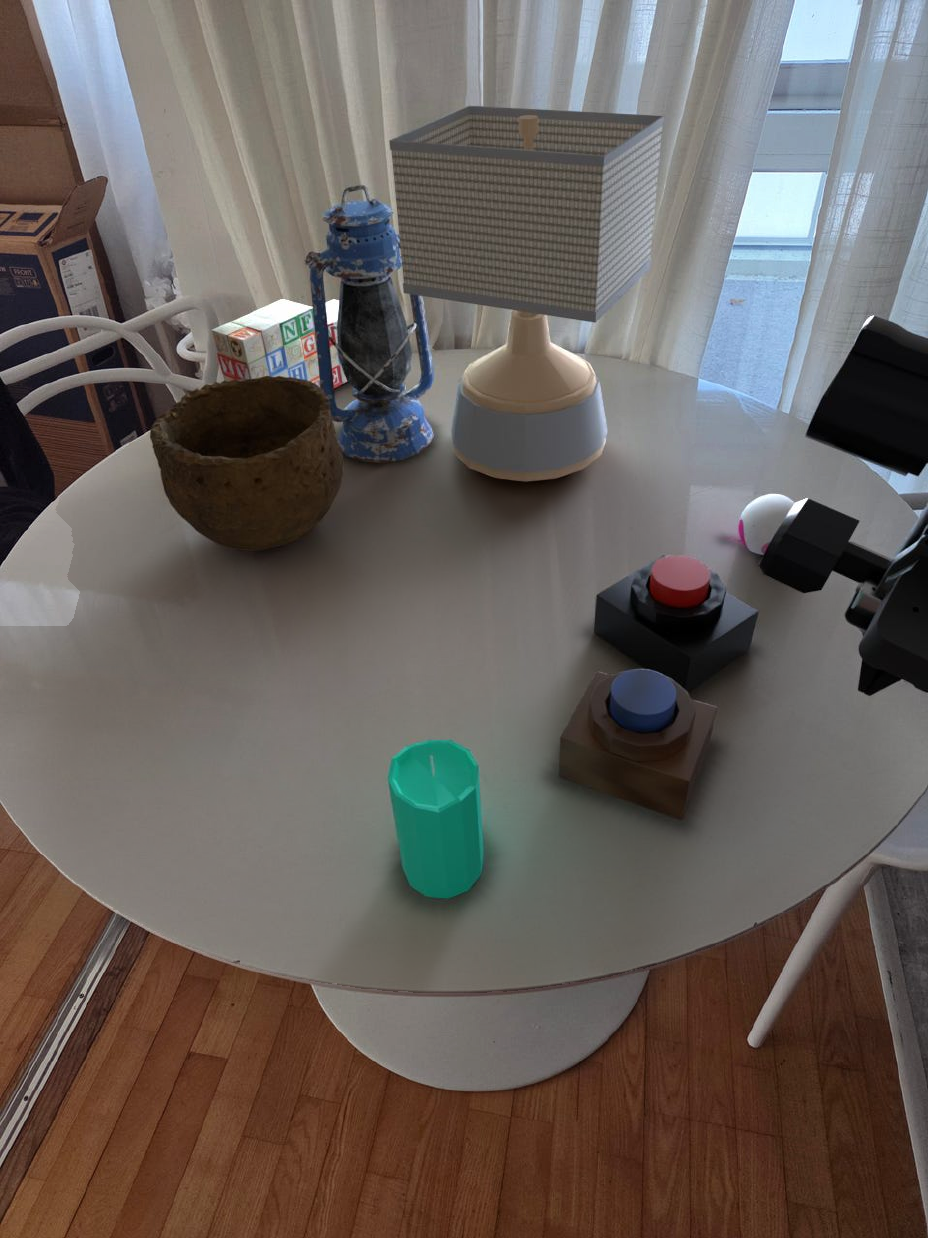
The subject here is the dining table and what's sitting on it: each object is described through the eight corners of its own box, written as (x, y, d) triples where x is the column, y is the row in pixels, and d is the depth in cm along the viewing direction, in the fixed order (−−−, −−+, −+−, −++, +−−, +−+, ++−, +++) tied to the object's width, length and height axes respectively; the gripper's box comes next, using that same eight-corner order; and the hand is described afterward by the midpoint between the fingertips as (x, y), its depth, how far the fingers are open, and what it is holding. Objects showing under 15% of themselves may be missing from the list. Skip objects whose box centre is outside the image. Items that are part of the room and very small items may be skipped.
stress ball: (747, 549, 95) (720, 499, 93) (819, 526, 90) (792, 473, 88) (733, 587, 89) (704, 535, 87) (809, 565, 84) (780, 510, 82)
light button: (719, 592, 75) (722, 573, 74) (680, 616, 73) (683, 598, 72) (675, 566, 78) (678, 547, 77) (637, 588, 76) (639, 570, 75)
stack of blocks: (343, 359, 130) (330, 276, 122) (373, 369, 126) (362, 285, 118) (232, 415, 118) (210, 328, 109) (261, 428, 114) (241, 339, 106)
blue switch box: (709, 746, 70) (721, 690, 66) (681, 820, 65) (692, 765, 60) (593, 709, 74) (597, 654, 69) (558, 776, 68) (560, 721, 64)
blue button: (681, 698, 66) (684, 679, 64) (662, 741, 63) (665, 723, 61) (621, 680, 68) (623, 661, 66) (600, 721, 64) (602, 702, 63)
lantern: (353, 476, 104) (313, 214, 84) (311, 436, 112) (265, 188, 92) (461, 438, 110) (446, 184, 90) (413, 402, 118) (391, 162, 98)
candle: (388, 883, 62) (368, 779, 54) (422, 818, 66) (408, 712, 58) (465, 910, 60) (456, 805, 52) (495, 841, 64) (491, 735, 56)
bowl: (197, 605, 87) (156, 478, 77) (174, 510, 100) (136, 392, 90) (374, 557, 92) (356, 432, 82) (329, 473, 105) (309, 357, 95)
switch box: (750, 650, 78) (762, 595, 74) (683, 697, 74) (693, 641, 70) (658, 592, 85) (665, 539, 81) (593, 632, 81) (597, 578, 77)
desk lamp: (638, 435, 108) (670, 101, 84) (580, 513, 96) (598, 148, 72) (485, 404, 116) (474, 92, 92) (414, 472, 104) (379, 132, 80)
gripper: (777, 503, 43) (688, 695, 55) (1182, 683, 37) (987, 857, 49) (840, 412, 50) (749, 599, 61) (1191, 551, 44) (1018, 731, 55)
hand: (864, 689), depth 56 cm, fingers closed
